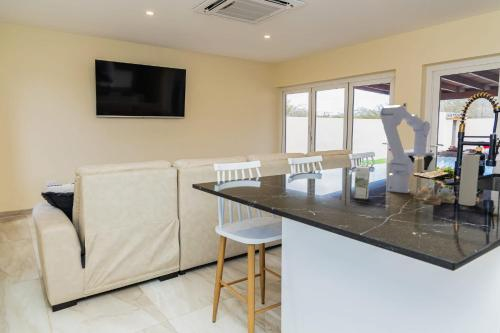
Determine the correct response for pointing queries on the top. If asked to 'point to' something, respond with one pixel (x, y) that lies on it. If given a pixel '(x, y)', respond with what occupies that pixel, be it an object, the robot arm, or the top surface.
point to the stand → (432, 200)
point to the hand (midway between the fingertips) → (418, 170)
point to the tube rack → (435, 195)
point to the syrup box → (361, 182)
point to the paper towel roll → (469, 179)
